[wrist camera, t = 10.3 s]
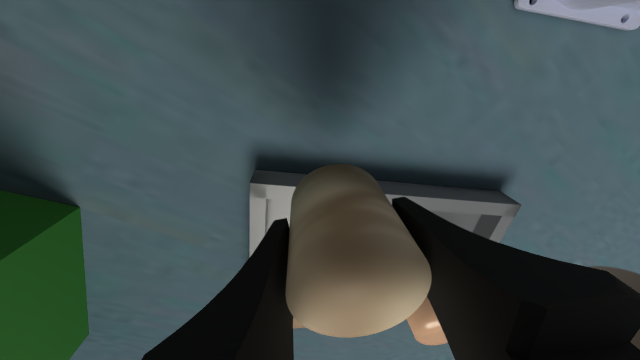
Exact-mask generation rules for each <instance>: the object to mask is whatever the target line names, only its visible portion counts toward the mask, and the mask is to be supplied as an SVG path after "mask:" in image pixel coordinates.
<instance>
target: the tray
mask: <svg viewBox="0 0 640 360" xmlns="http://www.w3.org/2000/svg"><path fill="white" fill-rule="evenodd" d="M306 175H308V174H298V173H286V172H275V171H263V170H255V172H254V174H253V177H252V179H251V182H250V256H251V255H252V254H253V252H254V251H255V249H256V248H257V246H258V245H259V243H260V242H261V240H262V239H263V237H264V236H265V234H266V232H267V231H268V229H269V228H270V226H271V224H272V223H273V221H274V220H278V219H284V218H287V221H288V224H289V228H290V211H291V199H292V196H293V193H294V190H295V189H296V187H297V185H298V184H299V183H300V181H301V180H302V179H303V178H304V177H305V176H306ZM376 182H377V183H378V185H379V186H380V188H381V189H382V191H383V192H384V194H385V195H386V197H387V199H388V200H389V202H390V203H391V205H392V199H393V198H399V197H406V198H408V199H410V200H412V201H413V202H415V203H417V204H418V205H420V206H422V207H424V208H425V209H427V210H429V211H431V212H432V213H434V214H436V215H438V216H440V217H441V218H443V219H445V220H447V221H449V222H451V223H453V224H455V225H457V226H459V227H461V228H463V229H466V230H468V231H470V232H472V233H475V234H477V235H480V236H482V237H485V238H487V239H490V240H493V241H495V242H498V243H500V241H501V239H502V238H503V236H504V234H505V233H506V231H507V229H508V227H509V226H510V224H511V222H512V221H513V219H514V217H515V215H516V214H517V212H518V210H519V209H520V207H521V204H519V203H518V202H516V201H515V200H513V199H511V198H510V197H508V196H507V195H505V194H504V193H502V192H501V191H492V190H480V189H469V188H457V187H446V186H435V185H423V184H412V183H400V182H389V181H378V180H376ZM405 320H407V319H405Z"/></svg>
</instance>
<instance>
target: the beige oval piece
mask: <svg viewBox="0 0 640 360" xmlns="http://www.w3.org/2000/svg"><path fill="white" fill-rule="evenodd" d="M431 279H432V276H431V269H430V265H429V263H428V261H427V259H426V258H425V256H424V254H423V253H422V251H421V250H420V248H419V247H418V245H417V244H416V242H415V241H414V239H413V237H412V236H411V234H410V233H409V231H408V230H407V228H406V227H405V225H404V223H403V222H402V220H401V219H400V217H399V216H398V214H397V213H396V211H395V209H394V208H393V206H392V205H391V203H390V202H389V200H388V199H387V197H386V195H385V194H384V192H383V191H382V189H381V188H380V186H379V185H378V183H377V182H376V180H375V179H374V178H373V177H372V176H371V175H370V174H369V173H368V172H367V171H365V170H363V169H361V168H359V167H357V166H354V165H349V164H331V165H326V166H323V167H320V168H318V169H316V170H314V171H312V172H310V173H309V174H308V175H306V176H305V177H304V178H303V179H302V180H301V181H300V183H299V184H298V185H297V187H296V189H295V190H294V193H293V196H292V199H291V211H290V228H289V245H288V262H287V279H286V302H287V305H288V308H289V310H290V312H291V314H292V315H293V316H294V318H295V319H296V320H297V321H298V322H299V323H301V324H302V325H303V326H305V327H306V328H308V329H310V330H312V331H315V332H317V333H320V334H324V335H328V336H333V337H360V336H366V335H371V334H375V333H378V332H381V331H384V330H386V329H389V328H391V327H393V326H395V325H397V324H399V323H401V322H402V321H404V320H405V319H407V318H408V317H409V316H410V315H412V314H413V313H414V312H415V311H416V310H417V309H418V308H419V307H420V305H421V304H422V303H423V301H424V300H425V298H426V296H427V294H428V292H429V289H430V286H431Z"/></svg>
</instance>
